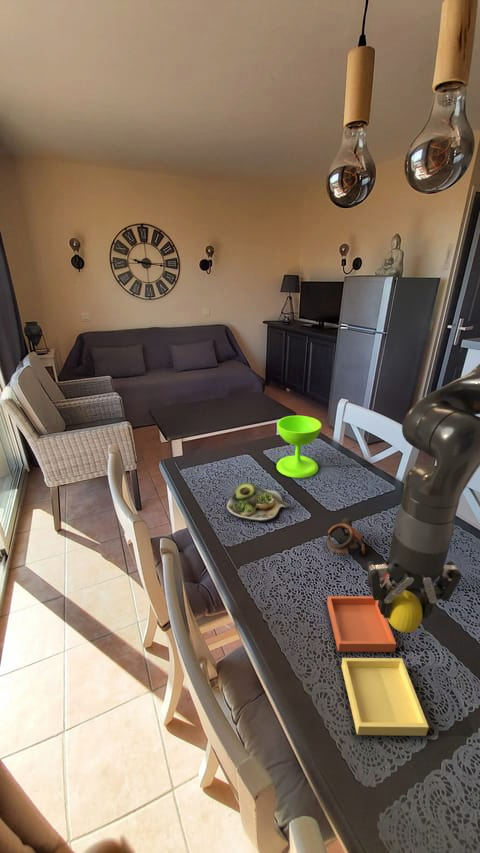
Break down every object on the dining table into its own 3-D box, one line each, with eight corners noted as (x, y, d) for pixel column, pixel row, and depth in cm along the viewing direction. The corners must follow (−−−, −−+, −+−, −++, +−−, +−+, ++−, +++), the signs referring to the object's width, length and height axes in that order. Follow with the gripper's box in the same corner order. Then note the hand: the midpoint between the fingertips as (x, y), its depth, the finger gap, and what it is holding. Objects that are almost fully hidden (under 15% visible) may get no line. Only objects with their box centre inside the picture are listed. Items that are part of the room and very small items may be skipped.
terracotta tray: (376, 604, 82) (377, 596, 81) (394, 652, 72) (396, 643, 71) (327, 603, 82) (327, 596, 81) (338, 652, 72) (339, 643, 71)
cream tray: (400, 666, 69) (402, 658, 68) (426, 735, 59) (428, 727, 58) (341, 666, 70) (342, 657, 69) (357, 735, 59) (358, 726, 58)
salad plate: (295, 496, 121) (295, 484, 119) (281, 529, 106) (281, 517, 104) (241, 485, 127) (240, 474, 126) (221, 516, 112) (220, 504, 110)
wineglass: (268, 470, 137) (268, 426, 129) (288, 453, 149) (289, 412, 141) (307, 482, 128) (310, 437, 121) (325, 463, 140) (328, 420, 133)
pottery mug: (369, 564, 93) (357, 546, 90) (334, 569, 98) (322, 552, 94) (365, 525, 102) (354, 508, 99) (333, 531, 107) (322, 514, 103)
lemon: (418, 647, 58) (428, 613, 55) (382, 636, 60) (389, 602, 57) (416, 618, 63) (425, 585, 60) (382, 609, 65) (389, 576, 62)
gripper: (380, 552, 50) (366, 634, 57) (486, 552, 50) (459, 635, 56) (365, 517, 57) (353, 594, 64) (457, 517, 56) (436, 595, 63)
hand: (403, 613), depth 60 cm, fingers closed on lemon, 5 cm apart
